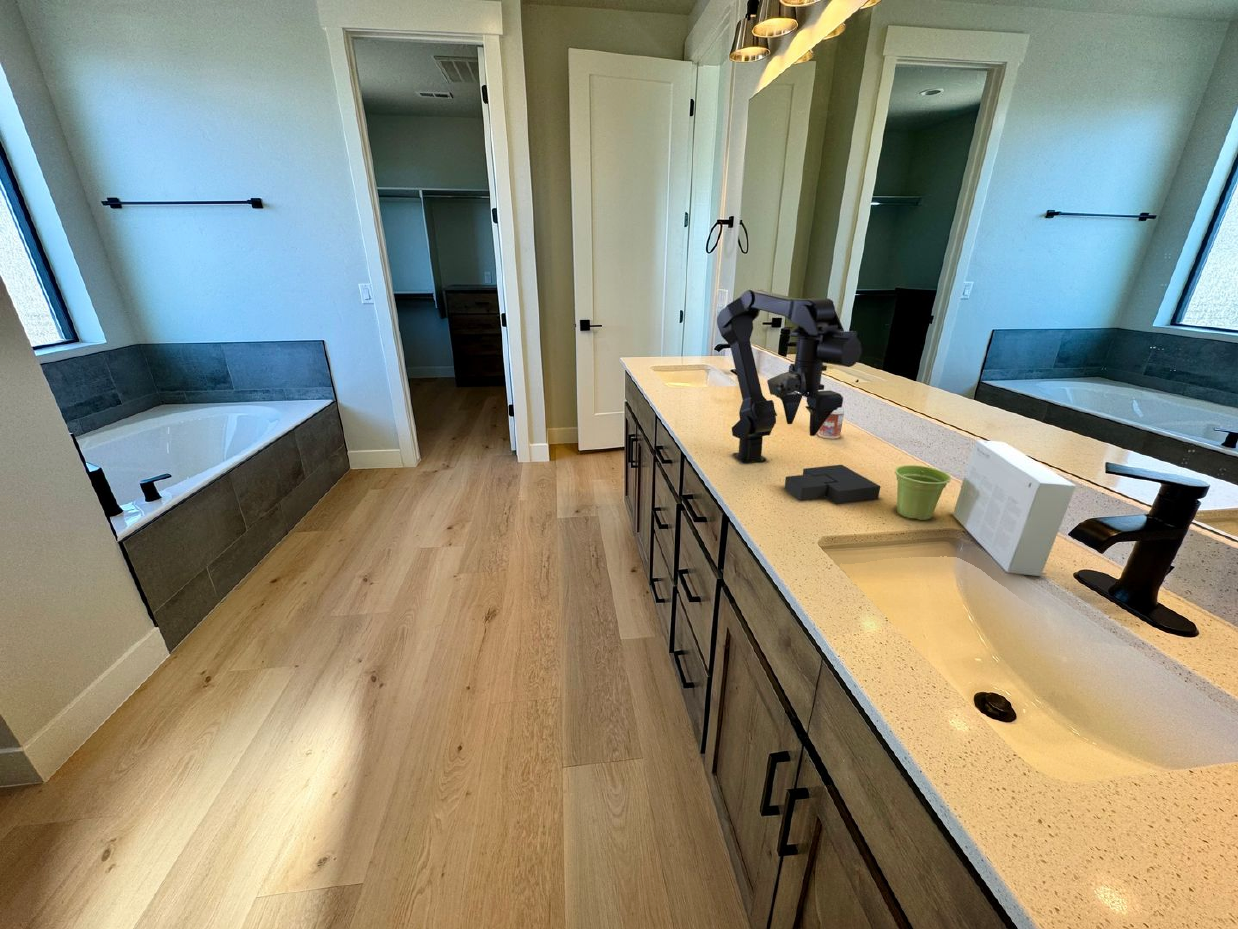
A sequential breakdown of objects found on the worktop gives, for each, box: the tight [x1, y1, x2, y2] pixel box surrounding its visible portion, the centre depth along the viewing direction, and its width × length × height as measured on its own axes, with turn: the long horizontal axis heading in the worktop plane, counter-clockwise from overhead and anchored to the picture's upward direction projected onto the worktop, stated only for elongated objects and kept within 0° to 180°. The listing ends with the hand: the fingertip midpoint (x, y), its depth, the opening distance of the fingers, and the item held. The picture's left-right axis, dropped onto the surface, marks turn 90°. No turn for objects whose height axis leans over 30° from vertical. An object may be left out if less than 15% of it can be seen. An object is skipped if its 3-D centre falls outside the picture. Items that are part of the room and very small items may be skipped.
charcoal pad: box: [802, 464, 881, 505], centre depth 109 cm, size 13×10×3 cm
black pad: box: [784, 474, 835, 502], centre depth 107 cm, size 6×9×3 cm
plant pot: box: [894, 464, 952, 521], centre depth 96 cm, size 9×9×9 cm
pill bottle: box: [817, 406, 845, 440], centre depth 142 cm, size 6×6×11 cm
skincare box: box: [952, 439, 1077, 577], centre depth 84 cm, size 21×6×16 cm, turn 168°
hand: (800, 429), depth 111 cm, fingers open, 9 cm apart
